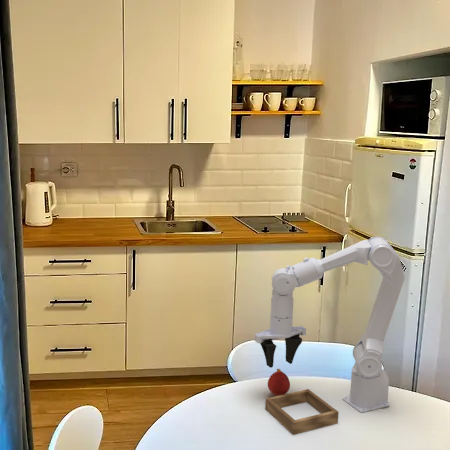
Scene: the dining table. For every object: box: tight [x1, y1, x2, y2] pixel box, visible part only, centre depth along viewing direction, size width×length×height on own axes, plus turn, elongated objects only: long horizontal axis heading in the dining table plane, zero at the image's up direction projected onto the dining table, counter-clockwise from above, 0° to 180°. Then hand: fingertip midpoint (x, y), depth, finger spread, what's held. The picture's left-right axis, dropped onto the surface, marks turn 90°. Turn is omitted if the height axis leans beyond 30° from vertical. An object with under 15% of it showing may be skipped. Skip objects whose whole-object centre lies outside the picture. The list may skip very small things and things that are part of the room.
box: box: [264, 388, 340, 436], centre depth 147 cm, size 13×13×3 cm
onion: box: [267, 368, 291, 397], centre depth 156 cm, size 6×6×8 cm
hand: (279, 364), depth 155 cm, fingers open, 5 cm apart
